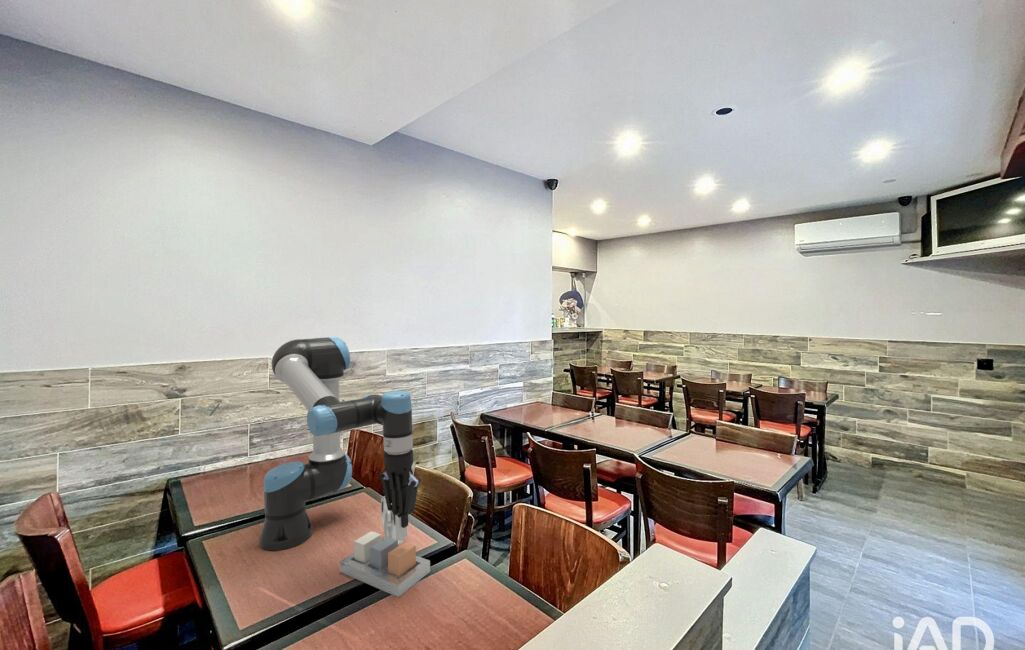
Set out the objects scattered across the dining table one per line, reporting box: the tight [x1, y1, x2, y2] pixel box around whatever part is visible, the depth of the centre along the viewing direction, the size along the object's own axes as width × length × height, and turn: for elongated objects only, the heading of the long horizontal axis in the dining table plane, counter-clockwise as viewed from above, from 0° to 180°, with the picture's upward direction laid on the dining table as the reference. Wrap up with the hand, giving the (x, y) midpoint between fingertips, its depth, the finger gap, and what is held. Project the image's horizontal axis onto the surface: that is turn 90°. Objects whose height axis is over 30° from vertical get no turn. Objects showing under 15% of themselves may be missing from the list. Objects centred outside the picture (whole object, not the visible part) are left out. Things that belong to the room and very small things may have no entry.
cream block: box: [353, 531, 382, 563], centre depth 121 cm, size 4×6×5 cm, turn 150°
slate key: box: [370, 537, 399, 569], centre depth 117 cm, size 4×6×5 cm, turn 150°
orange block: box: [388, 541, 417, 576], centre depth 114 cm, size 4×6×5 cm, turn 150°
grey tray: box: [339, 552, 431, 598], centre depth 118 cm, size 22×12×4 cm, turn 60°
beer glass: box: [380, 495, 404, 546], centre depth 133 cm, size 7×7×15 cm
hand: (401, 537), depth 114 cm, fingers closed
